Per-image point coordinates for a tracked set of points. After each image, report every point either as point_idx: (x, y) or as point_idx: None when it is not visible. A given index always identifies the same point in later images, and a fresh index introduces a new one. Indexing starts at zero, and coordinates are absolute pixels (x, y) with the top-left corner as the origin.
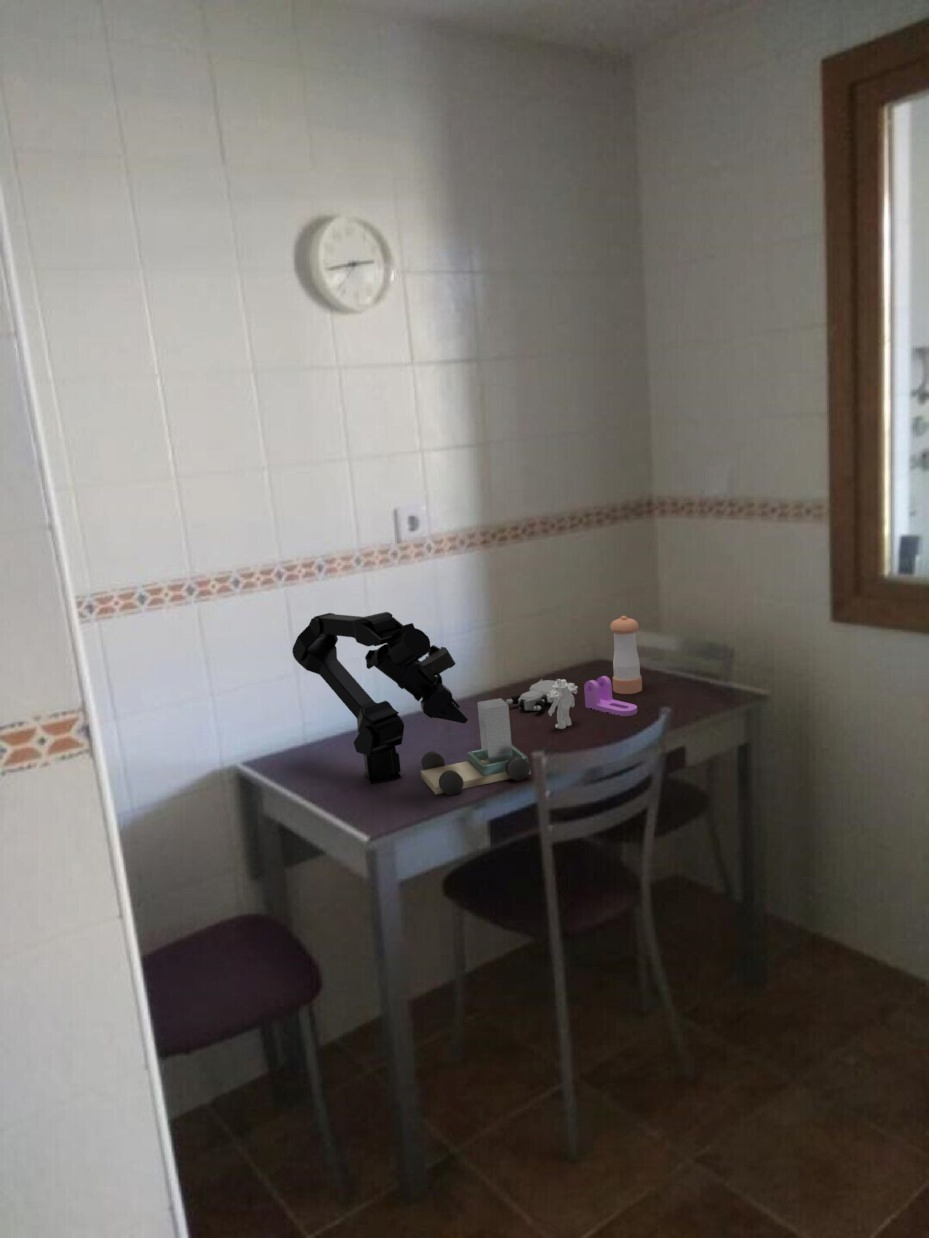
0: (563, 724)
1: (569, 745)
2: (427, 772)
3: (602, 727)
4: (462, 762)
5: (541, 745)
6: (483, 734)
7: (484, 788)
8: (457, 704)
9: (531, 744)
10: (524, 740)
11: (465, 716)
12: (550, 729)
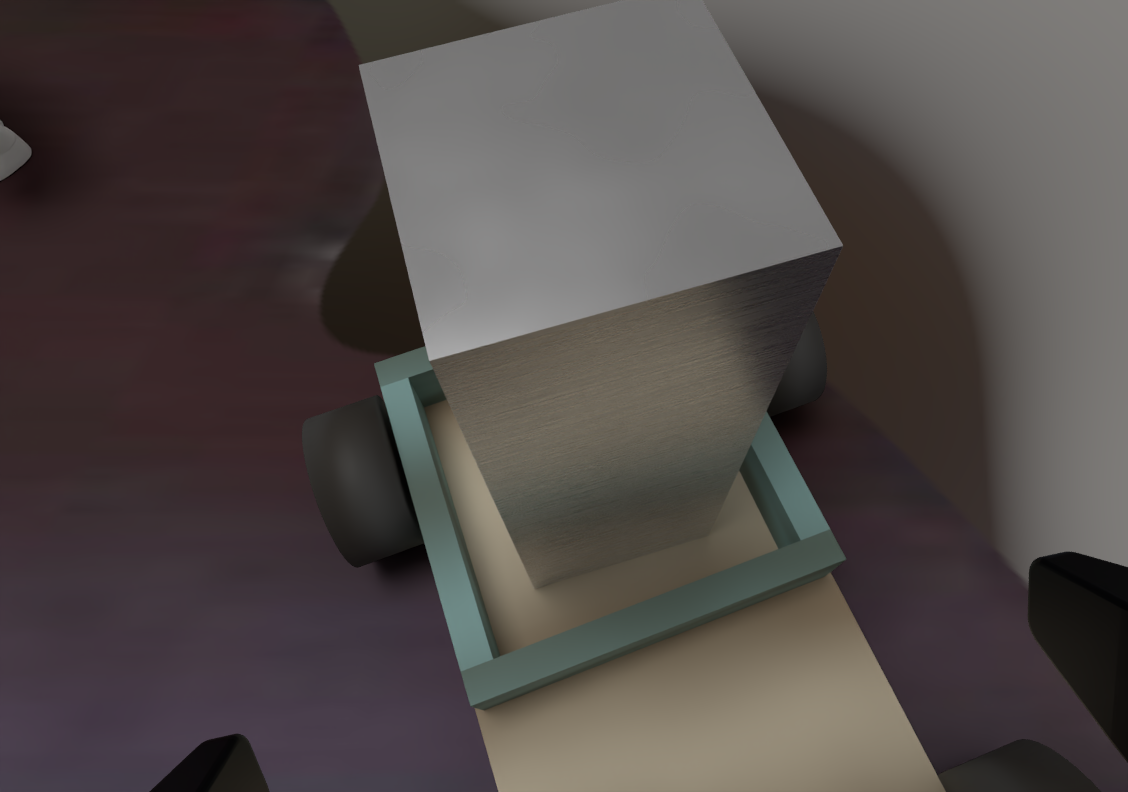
0: (12, 133)
1: (297, 134)
2: None
3: (116, 8)
4: (498, 761)
5: (237, 255)
6: (634, 477)
7: (893, 588)
8: (218, 775)
9: (196, 304)
10: (108, 340)
11: (1093, 576)
12: (4, 208)
